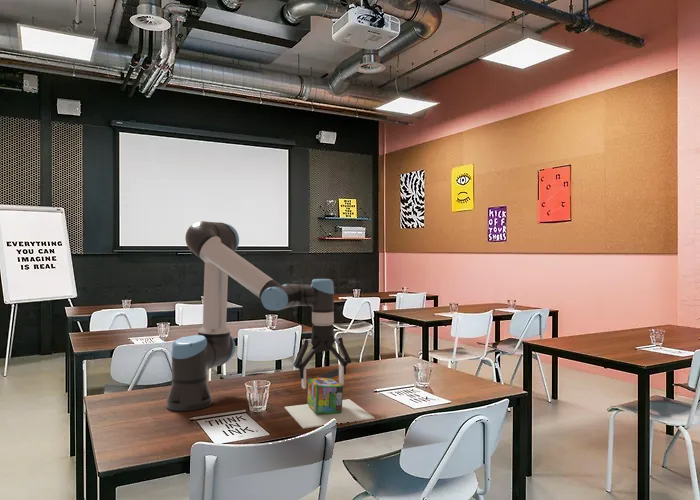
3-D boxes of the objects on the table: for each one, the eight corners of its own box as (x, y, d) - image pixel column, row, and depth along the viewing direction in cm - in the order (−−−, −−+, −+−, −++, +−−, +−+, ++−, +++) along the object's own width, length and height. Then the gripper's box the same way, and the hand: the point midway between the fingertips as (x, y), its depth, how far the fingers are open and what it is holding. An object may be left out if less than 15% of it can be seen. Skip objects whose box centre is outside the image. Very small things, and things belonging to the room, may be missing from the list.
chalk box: (308, 378, 175) (319, 388, 161) (333, 377, 178) (346, 387, 164) (306, 405, 175) (318, 417, 161) (331, 404, 178) (345, 416, 164)
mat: (303, 428, 154) (303, 427, 154) (284, 407, 174) (284, 406, 174) (374, 418, 163) (374, 417, 163) (349, 400, 183) (349, 399, 183)
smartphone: (316, 378, 215) (316, 376, 215) (334, 370, 230) (334, 368, 230) (331, 380, 212) (331, 378, 212) (349, 372, 227) (349, 370, 227)
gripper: (352, 320, 182) (352, 379, 182) (284, 324, 172) (284, 386, 172) (360, 323, 175) (360, 385, 175) (290, 327, 165) (290, 392, 165)
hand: (322, 386), depth 173 cm, fingers open, 13 cm apart
